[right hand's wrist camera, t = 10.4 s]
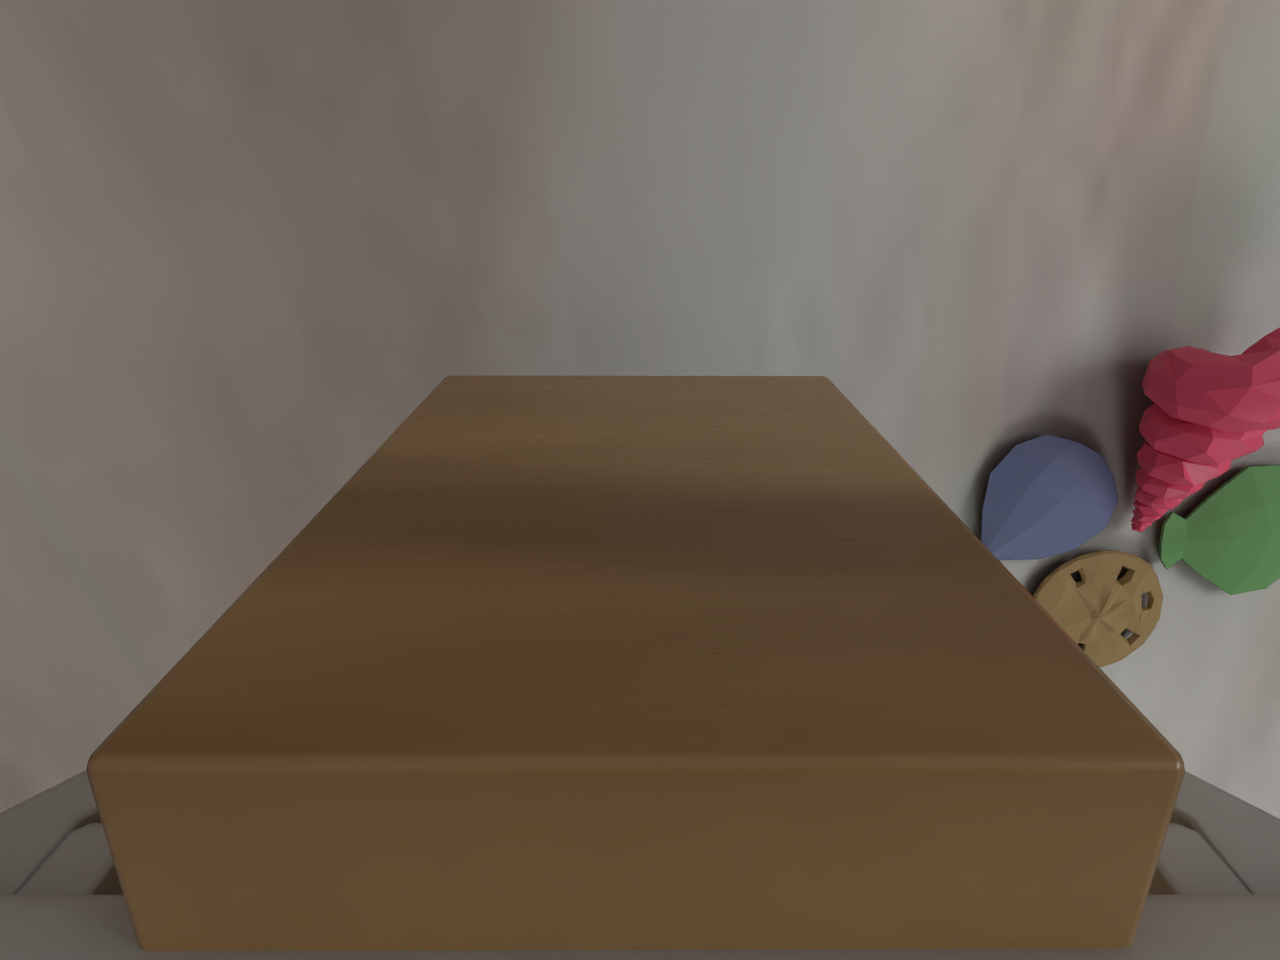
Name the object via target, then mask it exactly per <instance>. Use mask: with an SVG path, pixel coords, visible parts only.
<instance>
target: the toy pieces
mask: <svg viewBox="0 0 1280 960" xmlns="http://www.w3.org/2000/svg"><path fill="white" fill-rule="evenodd" d="M1142 386H1143V389H1144V393H1145V395H1146V396H1147V397H1149V398H1150V399H1151V400H1152V401H1153V402H1154V403H1153V404H1152V405H1151V406H1150V407H1149V408H1147V409H1146V410H1145V411H1144V414H1143V416H1142V419H1141V421H1140V424H1139V429H1140V433H1141V434H1142V436H1143V437H1144V438H1145V439H1146V442H1145V443H1144V445H1143V446H1142V447H1141V449H1140V450H1139V451H1138V453H1137V458H1138V464H1139V465H1140V466H1141V467H1142V468H1140V469H1138V470H1137V474H1136V479H1135V481H1136V483H1137V484H1138V487H1137V490H1136V494H1135V497H1134V499H1135V500H1136V501H1134V502H1133V504H1134V506H1135V510H1132V511H1133V513H1134V517H1133V518H1132V520H1131V521H1132V522H1133V523H1132V524H1131V525H1132V530H1135V531H1139V532H1142V531H1143V530H1145V528H1147V526H1151V525H1152V522H1154V521H1156V520H1158V519H1160V518H1161V516H1162V515H1163V514H1164V513H1166V512H1167V511H1168V510H1169V509H1170V510H1172V509H1173V508H1175V507H1176V506H1177V505H1179V504H1180V503H1181V502H1182V500H1183V499H1185V498H1187V497H1188V496H1190V495H1192V494H1193V493H1195V492H1197V491H1198V490H1200V489H1201V488H1202V487H1203V485H1204V484H1205V482H1206V481H1208V480H1211V479H1213V478H1216V477H1218V476H1221V475H1222V474H1223V473H1224V472H1226V471H1227V470H1228V469H1230V466H1231V460H1232V459H1235V458H1238V457H1241V456H1243V455H1246V454H1249V453H1251V452H1254V451H1257V450H1258V449H1259V448H1261V447H1262V446H1263V445H1264V441H1263V437H1262V435H1263V434H1264V432H1266V431H1267V430H1270V429H1276V428H1279V427H1280V328H1278V329H1276V330H1275V331H1273V332H1271V333H1269V334H1268V335H1266V336H1264V337H1263V338H1262V339H1260V340H1259V341H1258V342H1256V343H1255V344H1253V345H1252V346H1251V347H1249V348H1248V349H1246V350H1245V351H1244V353H1243V354H1242V355H1235V356H1227V355H1222V354H1217V353H1212V352H1209V351H1207V350H1204V349H1201V348H1194V347H1190V346H1187V347H1182V348H1177V349H1171V350H1165V351H1162V352H1161V353H1160V354H1158V355H1157V356H1156V357H1155V358H1153V359H1152V360H1151V361H1150V363H1149V365H1148V368H1147V371H1146V373H1145V376H1144V379H1143V382H1142ZM1117 503H1118V496H1117V492H1116V487H1115V483H1114V478H1113V475H1112V473H1111V471H1110V469H1109V467H1108V466H1107V464H1106V462H1105V460H1104V459H1103V457H1102V455H1101V454H1099V453H1097V452H1096V451H1094V450H1092V449H1090V448H1088V447H1086V446H1084V445H1082V444H1080V443H1078V442H1075V441H1072V440H1068V439H1064V438H1060V437H1056V436H1052V435H1049V434H1047V435H1044V436H1041V437H1038V438H1035V439H1032V440H1029V441H1026V442H1023V443H1020V444H1017V445H1016V446H1015V447H1014V448H1013V449H1012V450H1011V451H1010V452H1009V454H1008V455H1007V456H1006V457H1005V458H1004V459H1003V460H1002V461H1001V462H1000V463H999V464H998V466H997V467H996V468H995V469H994V470H993V471H992V472H991V473H990V477H989V482H988V486H987V491H986V496H985V501H984V505H983V511H982V534H981V542H982V543H983V544H984V545H985V546H986V547H987V548H988V550H989V551H990V552H991V553H992V554H993V555H994V556H995V557H996V558H997V559H998V560H1020V559H1042V558H1046V557H1049V556H1053V555H1056V554H1060V553H1063V552H1067V551H1071V550H1074V549H1076V548H1077V547H1079V546H1080V545H1082V544H1083V543H1085V542H1086V541H1087V540H1089V539H1090V538H1092V537H1093V536H1095V535H1096V534H1097V533H1099V532H1100V531H1102V530H1103V529H1104V528H1106V527H1107V524H1108V522H1109V520H1110V518H1111V516H1112V513H1113V511H1114V509H1115V507H1116V505H1117ZM1159 558H1160V560H1161V562H1162V563H1163V565H1164V567H1165V568H1166V569H1168V568H1169V567H1171V566H1172V565H1173V564H1175V563H1176V562H1177V561H1179V560H1180V559H1181V558H1182V559H1183V560H1184V561H1185V562H1186V563H1187V564H1188V565H1189V566H1191V567H1192V568H1193V569H1194V570H1195V571H1196V572H1197V573H1198V574H1199V575H1201V576H1202V577H1204V578H1205V579H1207V580H1208V581H1210V582H1212V583H1213V584H1215V585H1216V586H1218V587H1219V588H1221V589H1222V590H1224V591H1226V592H1227V593H1229V594H1230V595H1233V594H1239V593H1244V592H1249V591H1255V590H1260V589H1266V588H1267V587H1268V586H1270V585H1271V584H1272V583H1274V582H1275V581H1276V580H1277V579H1279V578H1280V465H1261V466H1246V467H1245V468H1243V469H1242V470H1241V471H1240V472H1238V473H1237V474H1236V475H1234V476H1233V477H1232V478H1231V479H1229V480H1228V481H1227V482H1225V483H1224V484H1223V485H1222V486H1220V487H1219V488H1218V489H1217V490H1215V491H1214V492H1213V493H1211V494H1210V495H1209V496H1208V497H1206V498H1205V499H1204V500H1203V501H1202V502H1201V503H1200V504H1199V505H1198V506H1197V507H1196V508H1195V509H1193V510H1192V511H1191V512H1190V513H1189V514H1188V515H1187V516H1186V517H1185V518H1182V517H1180V516H1179V515H1177V514H1175V513H1173V512H1171V511H1170V513H1169V514H1168V516H1167V517H1166V519H1165V520H1164V522H1163V523H1162V529H1161V534H1160V540H1159ZM1122 567H1125V568H1127V569H1128V570H1127V572H1126V574H1125V576H1123V577H1122V578H1120V579H1119V580H1117V577H1118V575H1119V573H1120V571H1121V569H1122ZM1077 570H1078V571H1079V572H1080V574H1081V579H1082V581H1079V582H1075V581H1074V580H1073V578H1072V576H1071V575H1070V574H1071V573H1073V572H1075V571H1077ZM1146 592H1147V593H1148V597H1149V598H1148V606H1147V607H1142V604H1141V601H1142V596H1141V594H1144V593H1146ZM1033 598H1034V599H1035V600H1036V601H1037V602H1038V603H1039V604H1040V605H1041V606H1042V607H1043V608H1044V609H1045V610H1046V611H1047V612H1048V614H1049V615H1050V616H1051V617H1052V618H1053V619H1054V620H1055V621H1056V622H1057V623H1058V624H1059V625H1060V626H1061V627H1062V628H1063V630H1064V631H1065V632H1066V633H1067V634H1068V635H1069V636H1070V637H1071V638H1072V639H1073V640H1074V641H1075V642H1076V643H1077V644H1078V643H1082V644H1083V647H1082V650H1083V651H1084V652H1085V653H1086V654H1087V655H1088V656H1089V657H1090V658H1091V659H1092V660H1093V662H1094V663H1095V664H1096V665H1097V666H1098V667H1103V666H1106V665H1109V664H1112V663H1114V662H1117V661H1119V660H1122V659H1123V658H1125V657H1126V656H1127V655H1129V654H1130V653H1132V652H1133V651H1134V650H1136V649H1137V648H1138V647H1140V646H1141V645H1142V644H1143V643H1144V642H1145V641H1146V639H1147V638H1148V637H1149V635H1150V634H1151V633H1152V631H1153V630H1154V628H1155V626H1156V624H1157V622H1158V620H1159V618H1160V612H1161V606H1162V599H1163V594H1162V591H1161V588H1160V584H1159V581H1158V578H1157V575H1156V573H1155V571H1154V570H1153V568H1152V566H1151V565H1150V564H1149V563H1147V562H1146V561H1144V560H1143V559H1141V558H1139V557H1138V556H1135V555H1131V554H1128V553H1124V552H1121V551H1118V550H1106V551H1098V552H1092V553H1088V554H1084V555H1080V556H1078V557H1075V558H1073V559H1071V560H1070V561H1068V562H1066V563H1064V564H1062V565H1061V566H1059V567H1057V568H1056V569H1055V570H1053V571H1052V572H1051V573H1050V574H1049V575H1048V576H1047V577H1046V578H1045V579H1044V580H1043V581H1042V582H1041V584H1040V585H1039V587H1038V588H1037V590H1036V592H1035V593H1034V596H1033ZM1125 629H1127V630H1129V631H1131V632H1132V633H1133V635H1132V636H1131V637H1130V638H1128V639H1126V638H1124V637H1123V636H1122V635H1121V633H1122V632H1123V631H1124V630H1125Z"/></svg>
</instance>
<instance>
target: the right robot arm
mask: <svg viewBox="0 0 1280 960" xmlns="http://www.w3.org/2000/svg"><path fill="white" fill-rule="evenodd" d="M86 772H87V770H86V771H84V772H82V773H80V774H78V775H76V776H74V777H72V778H70V779H68V780H66V781H64V782H62V783H60V784H58V785H56V786H54V787H52V788H50V789H48V790H46V791H44V792H42V793H40V794H38V795H36V796H34V797H32V798H30V799H28V800H26V801H24V802H22V803H20V804H18V805H16V806H14V807H12V808H10V809H8V810H6V811H4V812H2V813H0V960H1280V819H1278V818H1276V817H1275V816H1273V815H1271V814H1269V813H1267V812H1265V811H1263V810H1261V809H1259V808H1257V807H1255V806H1253V805H1251V804H1249V803H1247V802H1245V801H1243V800H1241V799H1239V798H1237V797H1235V796H1233V795H1231V794H1229V793H1227V792H1225V791H1223V790H1221V789H1219V788H1217V787H1215V786H1213V785H1211V784H1209V783H1207V782H1205V781H1204V780H1202V779H1200V778H1198V777H1196V776H1194V775H1192V774H1190V773H1188V772H1186V771H1185V773H1184V777H1183V780H1182V783H1181V787H1180V790H1179V793H1178V797H1177V800H1176V803H1175V806H1174V810H1173V813H1172V816H1171V820H1170V823H1169V826H1168V830H1167V833H1166V836H1165V839H1164V843H1163V846H1162V849H1161V853H1160V856H1159V859H1158V863H1157V866H1156V869H1155V872H1154V876H1153V879H1152V882H1151V886H1150V889H1149V892H1148V896H1147V899H1146V902H1145V905H1144V909H1143V912H1142V915H1141V919H1140V922H1139V925H1138V929H1137V932H1136V935H1135V938H1134V942H1133V945H1131V946H1129V947H1127V948H1097V949H765V950H433V951H145V950H143V949H141V948H139V946H138V942H137V939H136V936H135V932H134V929H133V926H132V922H131V919H130V916H129V912H128V909H127V906H126V902H125V899H124V896H123V892H122V889H121V886H120V882H119V879H118V876H117V872H116V869H115V866H114V863H113V859H112V856H111V853H110V849H109V846H108V843H107V839H106V836H105V833H104V829H103V826H102V823H101V819H100V816H99V813H98V809H97V806H96V803H95V799H94V796H93V793H92V789H91V786H90V783H89V779H88V776H87V773H86Z"/></svg>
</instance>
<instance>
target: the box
mask: <svg viewBox="0 0 1280 960" xmlns="http://www.w3.org/2000/svg"><path fill="white" fill-rule="evenodd" d="M86 773H87V776H88V779H89V783H90V786H91V789H92V793H93V796H94V799H95V803H96V806H97V809H98V813H99V816H100V819H101V823H102V826H103V829H104V833H105V836H106V839H107V843H108V846H109V849H110V853H111V856H112V859H113V863H114V866H115V869H116V872H117V876H118V879H119V882H120V886H121V889H122V892H123V896H124V899H125V902H126V906H127V909H128V912H129V916H130V919H131V922H132V926H133V929H134V932H135V936H136V939H137V942H138V946H139V948H141V949H143V950H145V951H433V950H765V949H1097V948H1127V947H1129V946H1131V945H1133V942H1134V938H1135V935H1136V932H1137V929H1138V925H1139V922H1140V919H1141V915H1142V912H1143V909H1144V905H1145V902H1146V899H1147V896H1148V892H1149V889H1150V886H1151V882H1152V879H1153V876H1154V872H1155V869H1156V866H1157V863H1158V859H1159V856H1160V853H1161V849H1162V846H1163V843H1164V839H1165V836H1166V833H1167V830H1168V826H1169V823H1170V820H1171V816H1172V813H1173V810H1174V806H1175V803H1176V800H1177V797H1178V793H1179V790H1180V787H1181V783H1182V780H1183V777H1184V773H1185V769H1184V762H1183V760H1182V757H1181V755H1180V753H1179V752H1178V751H1177V750H1176V749H1175V748H1174V747H1173V746H1172V745H1171V744H1170V743H1169V742H1168V740H1167V739H1166V738H1165V737H1164V736H1163V735H1162V734H1161V733H1160V732H1159V731H1158V730H1157V729H1156V728H1155V727H1154V726H1153V724H1152V723H1151V722H1150V721H1149V720H1148V719H1147V718H1146V717H1145V716H1144V715H1143V714H1142V713H1141V712H1140V711H1139V710H1138V708H1137V707H1136V706H1135V705H1134V704H1133V703H1132V702H1131V701H1130V700H1129V699H1128V698H1127V697H1126V696H1125V695H1124V694H1123V692H1122V691H1121V690H1120V689H1119V688H1118V687H1117V686H1116V685H1115V684H1114V683H1113V682H1112V681H1111V680H1110V679H1109V678H1108V676H1107V675H1106V674H1105V673H1104V672H1103V671H1102V670H1101V669H1100V668H1099V667H1098V666H1097V665H1096V664H1095V663H1094V662H1093V660H1092V659H1091V658H1090V657H1089V656H1088V655H1087V654H1086V653H1085V652H1084V651H1083V650H1082V649H1081V648H1080V647H1079V646H1078V644H1077V643H1076V642H1075V641H1074V640H1073V639H1072V638H1071V637H1070V636H1069V635H1068V634H1067V633H1066V632H1065V631H1064V630H1063V628H1062V627H1061V626H1060V625H1059V624H1058V623H1057V622H1056V621H1055V620H1054V619H1053V618H1052V617H1051V616H1050V615H1049V614H1048V612H1047V611H1046V610H1045V609H1044V608H1043V607H1042V606H1041V605H1040V604H1039V603H1038V602H1037V601H1036V600H1035V599H1034V598H1033V596H1032V595H1031V594H1030V593H1029V592H1028V591H1027V590H1026V589H1025V588H1024V587H1023V586H1022V585H1021V584H1020V583H1019V582H1018V580H1017V579H1016V578H1015V577H1014V576H1013V575H1012V574H1011V573H1010V572H1009V571H1008V570H1007V569H1006V568H1005V567H1004V566H1003V564H1002V563H1001V562H1000V561H999V560H998V559H997V558H996V557H995V556H994V555H993V554H992V553H991V552H990V551H989V550H988V548H987V547H986V546H985V545H984V544H983V543H982V542H981V541H980V540H979V539H978V538H977V537H976V536H975V535H974V534H973V532H972V531H971V530H970V529H969V528H968V527H967V526H966V525H965V524H964V523H963V522H962V521H961V520H960V519H959V518H958V516H957V515H956V514H955V513H954V512H953V511H952V510H951V509H950V508H949V507H948V506H947V505H946V504H945V503H944V502H943V500H942V499H941V498H940V497H939V496H938V495H937V494H936V493H935V492H934V491H933V490H932V489H931V488H930V487H929V486H928V484H927V483H926V482H925V481H924V480H923V479H922V478H921V477H920V476H919V475H918V474H917V473H916V472H915V471H914V470H913V468H912V467H911V466H910V465H909V464H908V463H907V462H906V461H905V460H904V459H903V458H902V457H901V456H900V455H899V454H898V452H897V451H896V450H895V449H894V448H893V447H892V446H891V445H890V444H889V443H888V442H887V441H886V440H885V439H884V438H883V436H882V435H881V434H880V433H879V432H878V431H877V430H876V429H875V428H874V427H873V426H872V425H871V424H870V423H869V422H868V420H867V419H866V418H865V417H864V416H863V415H862V414H861V413H860V412H859V411H858V410H857V409H856V408H855V407H854V405H853V404H852V403H851V402H850V401H849V400H848V399H847V398H846V397H845V396H844V395H843V394H842V393H841V392H840V391H839V389H838V388H837V387H836V386H835V385H834V384H833V383H832V382H831V381H830V380H829V379H828V378H827V377H824V376H448V377H446V378H445V379H444V380H443V381H442V382H441V383H440V384H439V385H438V386H437V387H436V388H435V389H434V390H433V391H432V392H431V394H430V395H429V396H428V397H427V398H426V399H425V400H424V401H423V402H422V403H421V404H420V405H419V406H418V407H417V408H416V409H415V411H414V412H413V413H412V414H411V415H410V416H409V417H408V418H407V419H406V420H405V421H404V422H403V423H402V424H401V425H400V426H399V428H398V429H397V430H396V431H395V432H394V433H393V434H392V435H391V436H390V437H389V438H388V439H387V440H386V441H385V442H384V444H383V445H382V446H381V447H380V448H379V449H378V450H377V451H376V452H375V453H374V454H373V455H372V456H371V457H370V458H369V459H368V461H367V462H366V463H365V464H364V465H363V466H362V467H361V468H360V469H359V470H358V471H357V472H356V473H355V474H354V475H353V477H352V478H351V479H350V480H349V481H348V482H347V483H346V484H345V485H344V486H343V487H342V488H341V489H340V490H339V491H338V492H337V494H336V495H335V496H334V497H333V498H332V499H331V500H330V501H329V502H328V503H327V504H326V505H325V506H324V507H323V508H322V509H321V511H320V512H319V513H318V514H317V515H316V516H315V517H314V518H313V519H312V520H311V521H310V522H309V523H308V524H307V525H306V527H305V528H304V529H303V530H302V531H301V532H300V533H299V534H298V535H297V536H296V537H295V538H294V539H293V540H292V541H291V542H290V544H289V545H288V546H287V547H286V548H285V549H284V550H283V551H282V552H281V553H280V554H279V555H278V556H277V557H276V558H275V560H274V561H273V562H272V563H271V564H270V565H269V566H268V567H267V568H266V569H265V570H264V571H263V572H262V573H261V574H260V575H259V577H258V578H257V579H256V580H255V581H254V582H253V583H252V584H251V585H250V586H249V587H248V588H247V589H246V590H245V591H244V592H243V594H242V595H241V596H240V597H239V598H238V599H237V600H236V601H235V602H234V603H233V604H232V605H231V606H230V607H229V608H228V610H227V611H226V612H225V613H224V614H223V615H222V616H221V617H220V618H219V619H218V620H217V621H216V622H215V623H214V624H213V625H212V627H211V628H210V629H209V630H208V631H207V632H206V633H205V634H204V635H203V636H202V637H201V638H200V639H199V640H198V641H197V642H196V644H195V645H194V646H193V647H192V648H191V649H190V650H189V651H188V652H187V653H186V654H185V655H184V656H183V657H182V658H181V660H180V661H179V662H178V663H177V664H176V665H175V666H174V667H173V668H172V669H171V670H170V671H169V672H168V673H167V674H166V675H165V677H164V678H163V679H162V680H161V681H160V682H159V683H158V684H157V685H156V686H155V687H154V688H153V689H152V690H151V691H150V693H149V694H148V695H147V696H146V697H145V698H144V699H143V700H142V701H141V702H140V703H139V704H138V705H137V706H136V707H135V708H134V710H133V711H132V712H131V713H130V714H129V715H128V716H127V717H126V718H125V719H124V720H123V721H122V722H121V723H120V724H119V725H118V727H117V728H116V729H115V730H114V731H113V732H112V733H111V734H110V735H109V736H108V737H107V738H106V739H105V740H104V741H103V743H102V744H101V745H100V746H99V747H98V748H97V749H96V750H95V751H94V752H93V753H92V754H91V756H90V759H89V761H88V765H87V772H86Z"/></svg>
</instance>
